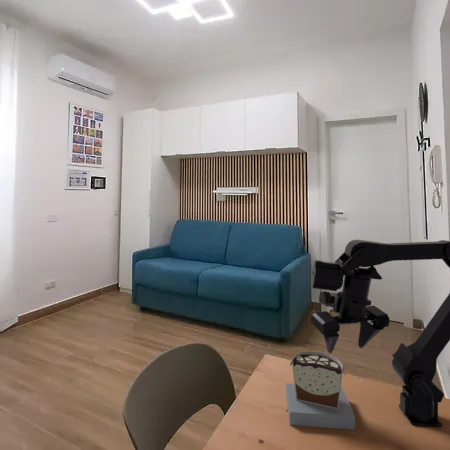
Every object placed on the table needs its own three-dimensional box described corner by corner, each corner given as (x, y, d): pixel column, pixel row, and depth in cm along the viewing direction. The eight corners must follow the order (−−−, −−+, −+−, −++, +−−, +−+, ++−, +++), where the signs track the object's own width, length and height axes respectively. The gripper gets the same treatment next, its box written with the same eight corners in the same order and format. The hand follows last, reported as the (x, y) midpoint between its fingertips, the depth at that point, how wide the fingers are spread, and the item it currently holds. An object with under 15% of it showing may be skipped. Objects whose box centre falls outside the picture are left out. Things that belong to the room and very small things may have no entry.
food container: (345, 395, 72) (345, 355, 72) (345, 411, 66) (345, 367, 66) (294, 384, 77) (294, 346, 76) (290, 398, 71) (289, 357, 71)
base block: (341, 398, 76) (341, 387, 75) (355, 429, 65) (355, 416, 65) (286, 395, 77) (286, 383, 77) (289, 424, 66) (289, 412, 66)
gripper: (363, 276, 80) (353, 327, 84) (302, 281, 75) (295, 335, 79) (396, 295, 70) (384, 352, 74) (329, 302, 65) (319, 363, 68)
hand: (345, 349), depth 74 cm, fingers open, 9 cm apart
